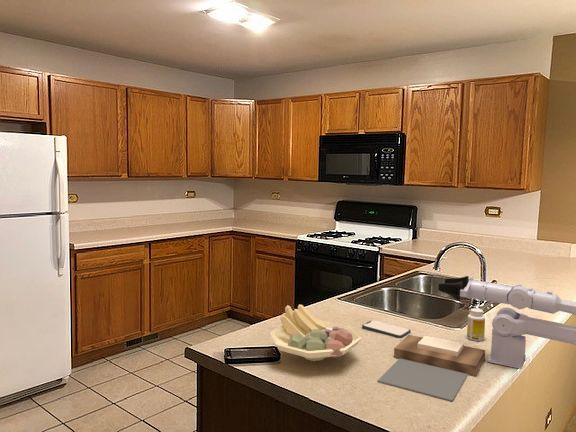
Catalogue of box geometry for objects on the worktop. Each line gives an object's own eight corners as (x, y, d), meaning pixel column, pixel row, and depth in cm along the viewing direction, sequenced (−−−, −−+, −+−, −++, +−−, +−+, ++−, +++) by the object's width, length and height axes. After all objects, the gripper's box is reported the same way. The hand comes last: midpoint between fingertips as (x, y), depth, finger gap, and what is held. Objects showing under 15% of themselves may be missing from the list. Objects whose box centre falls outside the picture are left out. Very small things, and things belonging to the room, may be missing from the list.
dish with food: (290, 332, 164) (290, 293, 161) (369, 345, 153) (370, 304, 151) (254, 368, 138) (253, 323, 136) (346, 387, 127) (346, 338, 125)
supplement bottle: (487, 339, 160) (489, 310, 159) (476, 342, 157) (478, 313, 156) (474, 334, 165) (475, 306, 164) (463, 337, 162) (464, 308, 161)
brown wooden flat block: (484, 359, 143) (485, 350, 143) (475, 376, 132) (476, 366, 131) (408, 343, 156) (408, 334, 156) (393, 357, 145) (394, 348, 144)
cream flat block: (463, 347, 145) (463, 343, 145) (457, 356, 138) (457, 351, 138) (424, 340, 151) (425, 335, 151) (417, 348, 144) (417, 343, 144)
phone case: (411, 333, 167) (372, 323, 177) (412, 329, 167) (372, 319, 177) (400, 340, 161) (360, 329, 171) (400, 336, 160) (360, 325, 171)
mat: (467, 375, 132) (467, 373, 132) (452, 401, 117) (452, 400, 117) (399, 359, 143) (399, 358, 143) (377, 381, 128) (377, 380, 128)
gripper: (491, 274, 149) (448, 268, 156) (483, 283, 137) (436, 276, 144) (490, 295, 150) (447, 288, 157) (481, 307, 138) (435, 298, 145)
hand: (441, 284), depth 151 cm, fingers open, 7 cm apart
